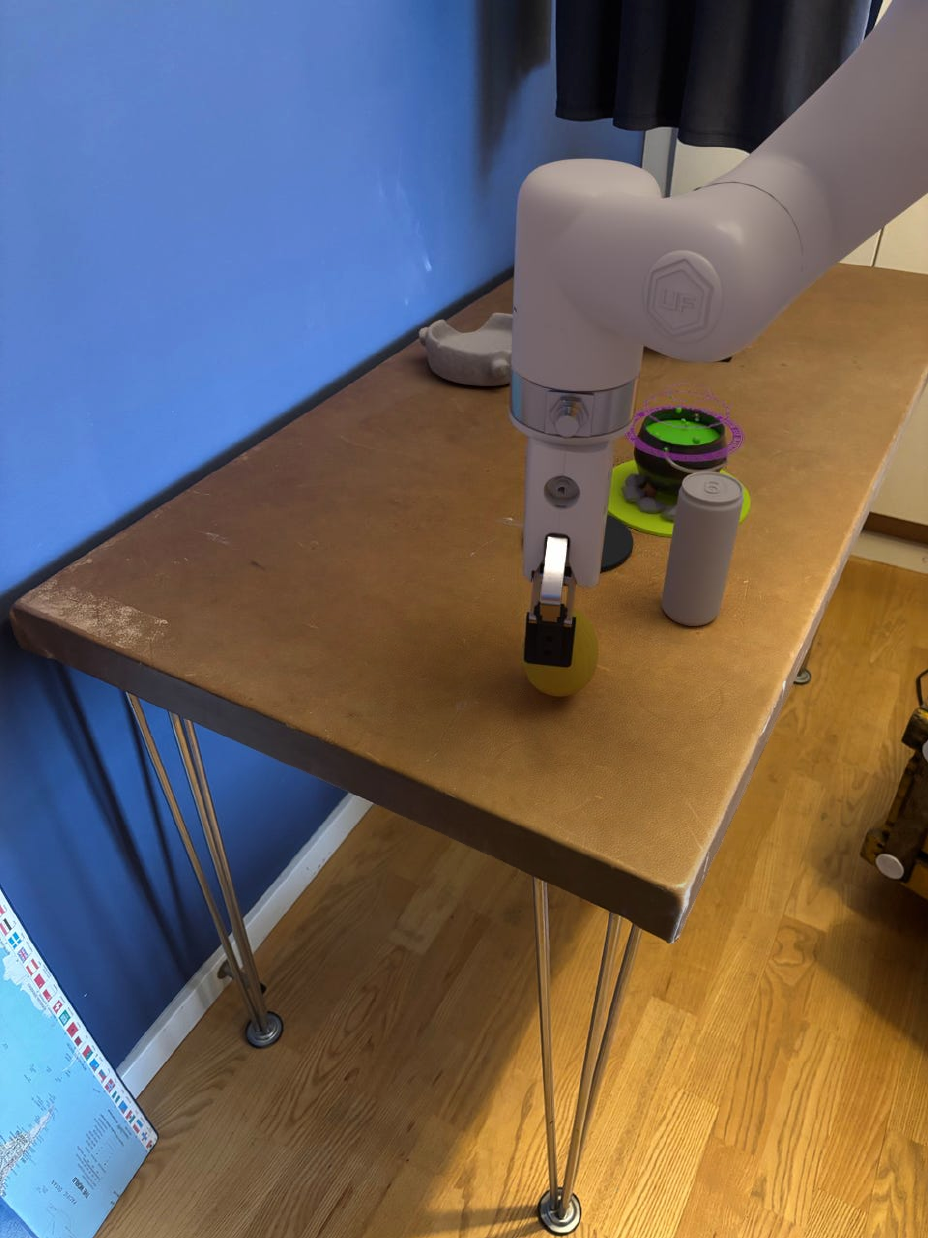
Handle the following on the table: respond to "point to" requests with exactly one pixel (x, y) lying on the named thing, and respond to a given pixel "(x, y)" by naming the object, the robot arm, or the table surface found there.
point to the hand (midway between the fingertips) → (553, 617)
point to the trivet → (615, 544)
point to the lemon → (582, 666)
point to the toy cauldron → (669, 464)
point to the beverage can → (701, 547)
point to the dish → (471, 351)
